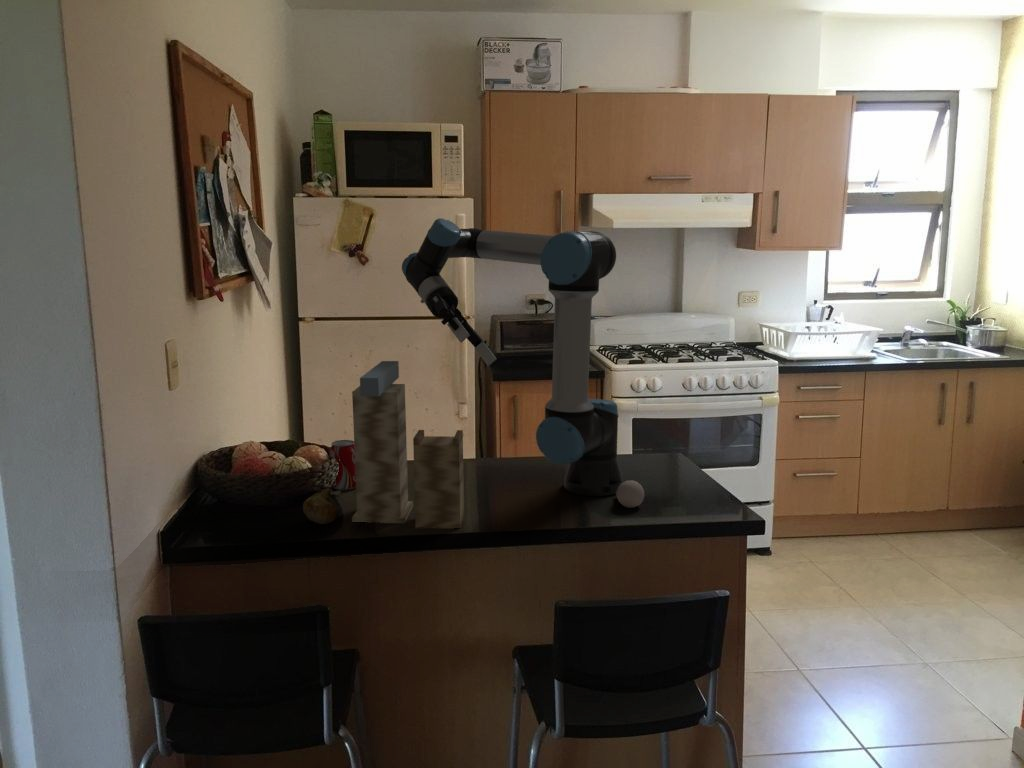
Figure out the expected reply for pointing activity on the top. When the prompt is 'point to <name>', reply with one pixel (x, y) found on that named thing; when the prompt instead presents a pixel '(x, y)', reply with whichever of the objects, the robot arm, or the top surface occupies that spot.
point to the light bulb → (630, 494)
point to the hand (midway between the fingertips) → (478, 350)
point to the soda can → (344, 464)
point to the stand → (381, 456)
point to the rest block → (438, 480)
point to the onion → (321, 506)
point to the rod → (379, 378)
